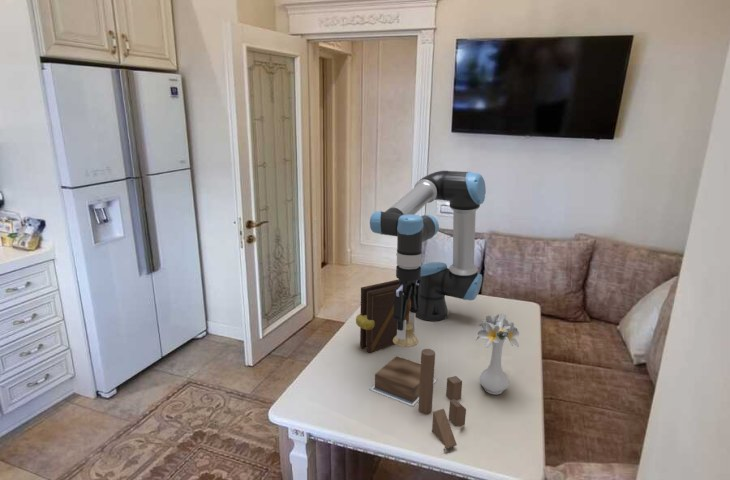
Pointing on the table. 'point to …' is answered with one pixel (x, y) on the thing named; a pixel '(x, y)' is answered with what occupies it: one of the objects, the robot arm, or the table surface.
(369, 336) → the book
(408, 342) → the hand bell
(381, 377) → the walnut plinth
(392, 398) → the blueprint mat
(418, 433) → the table surface
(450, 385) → the wooden blocks
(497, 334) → the flower vase
